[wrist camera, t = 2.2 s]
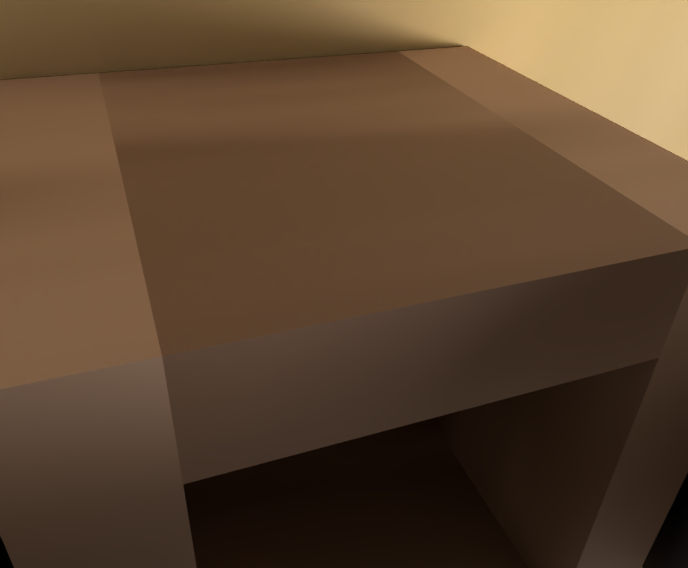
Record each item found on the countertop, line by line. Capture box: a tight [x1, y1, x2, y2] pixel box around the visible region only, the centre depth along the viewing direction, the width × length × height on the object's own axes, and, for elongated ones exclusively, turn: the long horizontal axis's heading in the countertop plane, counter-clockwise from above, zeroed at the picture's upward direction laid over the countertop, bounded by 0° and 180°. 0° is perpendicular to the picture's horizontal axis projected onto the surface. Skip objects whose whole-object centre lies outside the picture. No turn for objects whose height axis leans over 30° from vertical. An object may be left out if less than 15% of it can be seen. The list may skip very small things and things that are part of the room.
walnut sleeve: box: [0, 46, 688, 568], centre depth 7 cm, size 6×6×5 cm
